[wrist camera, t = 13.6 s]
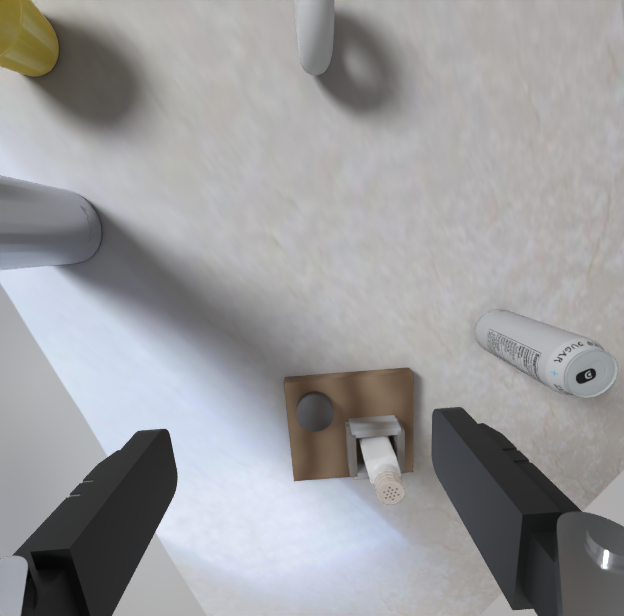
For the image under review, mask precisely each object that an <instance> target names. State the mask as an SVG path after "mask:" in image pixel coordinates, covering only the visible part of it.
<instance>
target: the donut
mask: <svg viewBox="0 0 624 616" xmlns="http://www.w3.org/2000/svg"><path fill="white" fill-rule="evenodd" d="M294 6H295V20H296V33H297V44H298V53H299V59H300V63H301V65H302V68H303V69H304V70H305V71H306V72H307V73H309V74H311V75H320V74H322V73H323V72H325V71H326V69H327V68H328V67H329V64H330V61H331V58H332V52H333V39H334V0H294Z"/></svg>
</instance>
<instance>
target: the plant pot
mask: <svg viewBox="0 0 624 616" xmlns="http://www.w3.org/2000/svg"><path fill="white" fill-rule="evenodd" d="M58 56H59V44H58V39H57V36H56V33H55V31H54V29H53V27H52V25H51V24H50V23H49V21H48V20H47V19H46V18H45V16H44V15H43V14H42V13H41V12H40V10H39V9H38V8H37V7H36V6H35V5H34V3H33V2H32V1H31V0H0V66H1V67H4V68H7V69H10V70H13V71H16V72H19V73H21V74H24V75H28V76H42V75H44V74H46V73H48V72H50V71H51V70H52V69H53V67H54V66H55V64H56V62H57V59H58Z"/></svg>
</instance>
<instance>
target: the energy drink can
mask: <svg viewBox="0 0 624 616" xmlns="http://www.w3.org/2000/svg"><path fill="white" fill-rule="evenodd" d="M475 337H476V340H477V342H478V344H479V345H480V346H481V347H482V348H484V349H486V350H487V351H489V352H491V353H492V354H494V355H496V356H497V357H499V358H501V359H502V360H504V361H506V362H507V363H509V364H511V365H512V366H514V367H516V368H517V369H519V370H521V371H523V372H524V373H526V374H528V375H529V376H531V377H533V378H534V379H536V380H538V381H539V382H541V383H543V384H544V385H546V386H548V387H549V388H551V389H553V390H554V391H556V392H558V393H561V394H565V395H576V396H578V397H582V398H591V397H595V396H598V395H600V394H602V393H604V392H605V391H607V390H608V389H609V388H610V387H611V386H612V384H613V383H614V381H615V379H616V377H617V373H618V365H617V362H616V359H615V358H614V357H613V356H612V355H611V354H610V353H608V352H606V351H605V350H604V349H603V348H602V346H601V345H600V344H599V343H597V342H596V341H594V340H592V339H590V338H587V337H584V336H581V335H578V334H575V333H572V332H569V331H566V330H563V329H560V328H557V327H554V326H551V325H548V324H545V323H542V322H539V321H536V320H533V319H530V318H527V317H524V316H521V315H519V314H516V313H513V312H510V311H507V310H502V309H497V310H493V311H490V312H488V313H486V314H485V315H483V316H482V317H481V318H480V319H479V320H478V322H477V324H476V327H475Z"/></svg>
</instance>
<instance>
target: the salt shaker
mask: <svg viewBox="0 0 624 616" xmlns="http://www.w3.org/2000/svg"><path fill="white" fill-rule="evenodd" d="M358 439H359V443H360V446H361V450H362V454H363V458H364V461H365V465H366V469H367V472H368V475H369V479H370V482H371V484H373V485H375V489H376V492H377V496H378V498H379V499H380V501H381V502H383V503H385V504H387V505H388V504H396V503H398V502H400V501H401V500H402V498H403V497H404V494H405V489H404V486H403V484H402V481H401V479H400V477H401V472H400V468H399V465H398V461H397V458H396V455H395V453H394V450H393V448H392V445H391V443H390V441H389V438H388V436H375V437H362V438H358Z"/></svg>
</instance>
